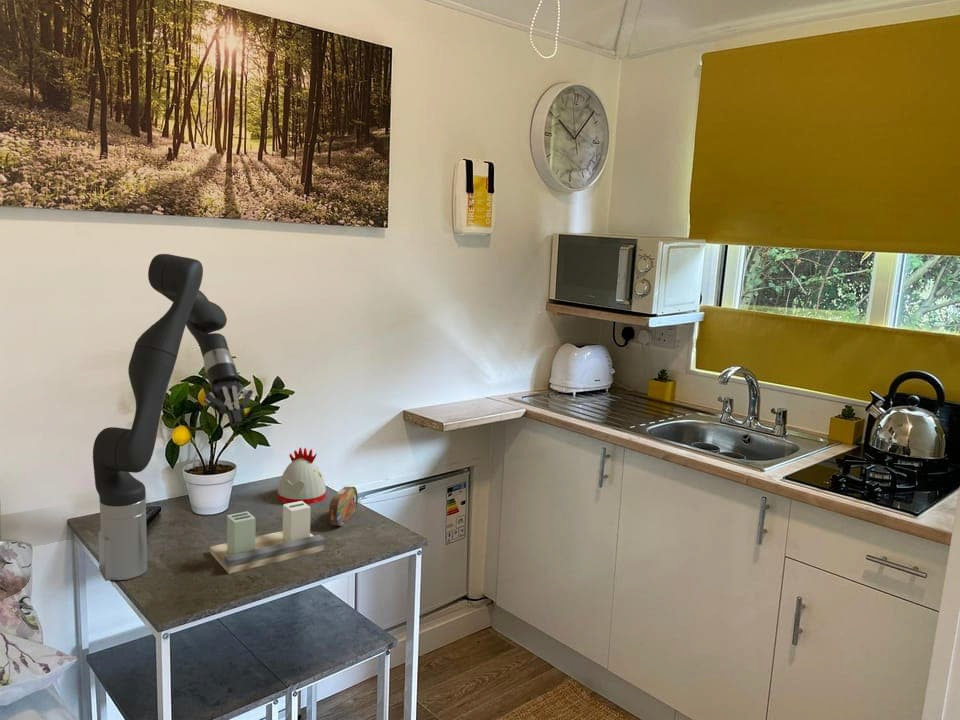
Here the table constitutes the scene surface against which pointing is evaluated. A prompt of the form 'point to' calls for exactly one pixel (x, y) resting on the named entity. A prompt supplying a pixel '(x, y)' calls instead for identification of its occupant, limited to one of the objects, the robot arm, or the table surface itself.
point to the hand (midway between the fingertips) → (237, 424)
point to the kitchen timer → (302, 480)
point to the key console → (267, 551)
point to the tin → (343, 505)
